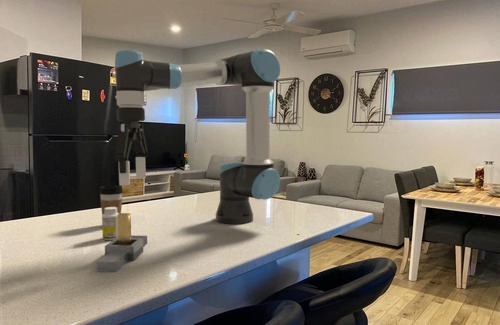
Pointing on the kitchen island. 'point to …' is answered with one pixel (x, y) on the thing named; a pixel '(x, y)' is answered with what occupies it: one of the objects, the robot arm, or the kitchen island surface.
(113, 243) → the grey plate with loop
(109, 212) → the supplement bottle
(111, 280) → the kitchen island surface
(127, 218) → the pin
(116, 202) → the coffee cup
